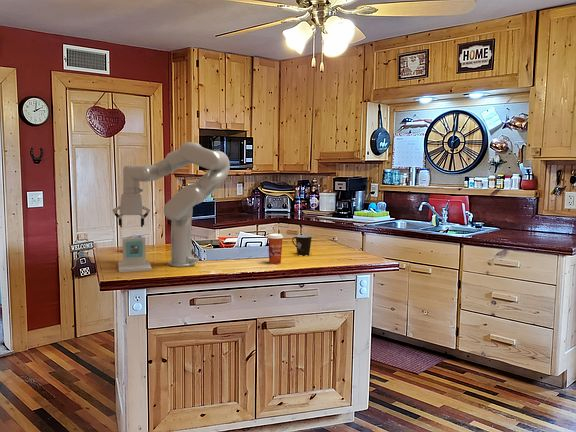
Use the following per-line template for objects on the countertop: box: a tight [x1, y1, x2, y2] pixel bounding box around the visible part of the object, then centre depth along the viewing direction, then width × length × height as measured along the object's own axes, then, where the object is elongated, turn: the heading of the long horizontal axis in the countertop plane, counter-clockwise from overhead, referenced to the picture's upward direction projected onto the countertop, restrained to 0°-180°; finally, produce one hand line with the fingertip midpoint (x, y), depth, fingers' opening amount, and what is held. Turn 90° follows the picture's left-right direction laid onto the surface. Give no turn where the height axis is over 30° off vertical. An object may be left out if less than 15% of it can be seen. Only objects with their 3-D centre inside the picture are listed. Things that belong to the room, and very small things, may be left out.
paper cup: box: [267, 233, 284, 265], centre depth 258 cm, size 8×8×14 cm
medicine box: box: [126, 234, 142, 249], centre depth 281 cm, size 8×4×9 cm, turn 168°
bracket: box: [117, 236, 153, 273], centre depth 243 cm, size 18×14×14 cm
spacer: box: [126, 241, 142, 258], centre depth 242 cm, size 2×7×7 cm, turn 109°
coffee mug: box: [291, 234, 313, 257], centre depth 281 cm, size 12×9×10 cm
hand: (131, 226), depth 254 cm, fingers open, 9 cm apart
